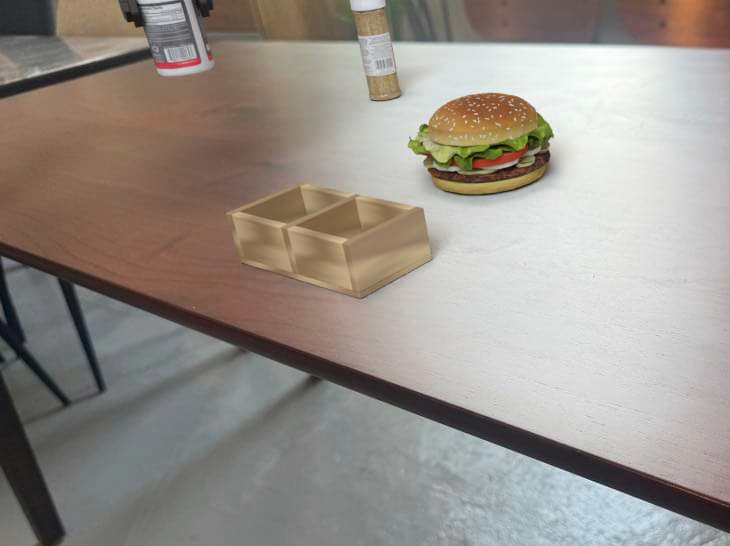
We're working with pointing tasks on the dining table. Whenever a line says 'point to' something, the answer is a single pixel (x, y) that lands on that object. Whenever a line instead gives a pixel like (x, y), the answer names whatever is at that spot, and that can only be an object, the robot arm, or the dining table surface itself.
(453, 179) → the food
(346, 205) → the divided wooden box
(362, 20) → the brown spice jar
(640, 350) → the dining table surface
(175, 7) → the pill bottle
